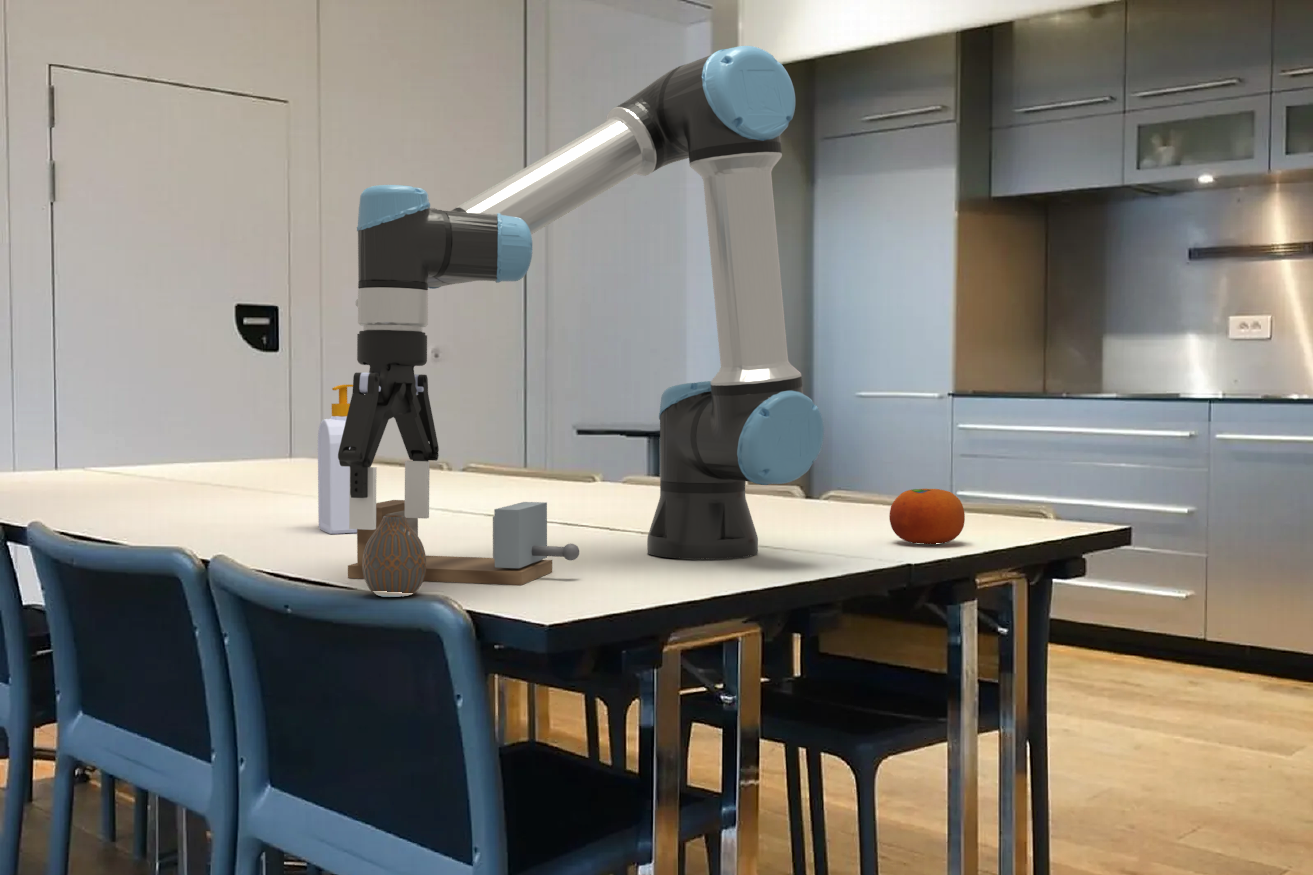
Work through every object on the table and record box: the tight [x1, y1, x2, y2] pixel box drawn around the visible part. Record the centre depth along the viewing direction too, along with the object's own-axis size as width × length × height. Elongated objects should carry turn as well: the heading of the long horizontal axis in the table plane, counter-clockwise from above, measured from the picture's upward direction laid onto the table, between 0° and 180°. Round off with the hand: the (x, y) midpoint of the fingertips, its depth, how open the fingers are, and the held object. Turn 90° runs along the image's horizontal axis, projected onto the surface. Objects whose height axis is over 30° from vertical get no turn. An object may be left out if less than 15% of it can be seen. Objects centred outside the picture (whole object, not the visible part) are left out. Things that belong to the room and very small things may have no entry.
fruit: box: [888, 488, 966, 545], centre depth 198 cm, size 11×10×8 cm
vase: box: [362, 515, 427, 594], centre depth 151 cm, size 7×7×9 cm
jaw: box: [492, 501, 580, 568], centre depth 163 cm, size 9×10×7 cm
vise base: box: [347, 499, 553, 586], centre depth 166 cm, size 22×11×8 cm, turn 76°
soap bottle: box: [317, 384, 357, 535], centre depth 214 cm, size 9×7×23 cm
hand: (390, 523), depth 151 cm, fingers open, 13 cm apart
